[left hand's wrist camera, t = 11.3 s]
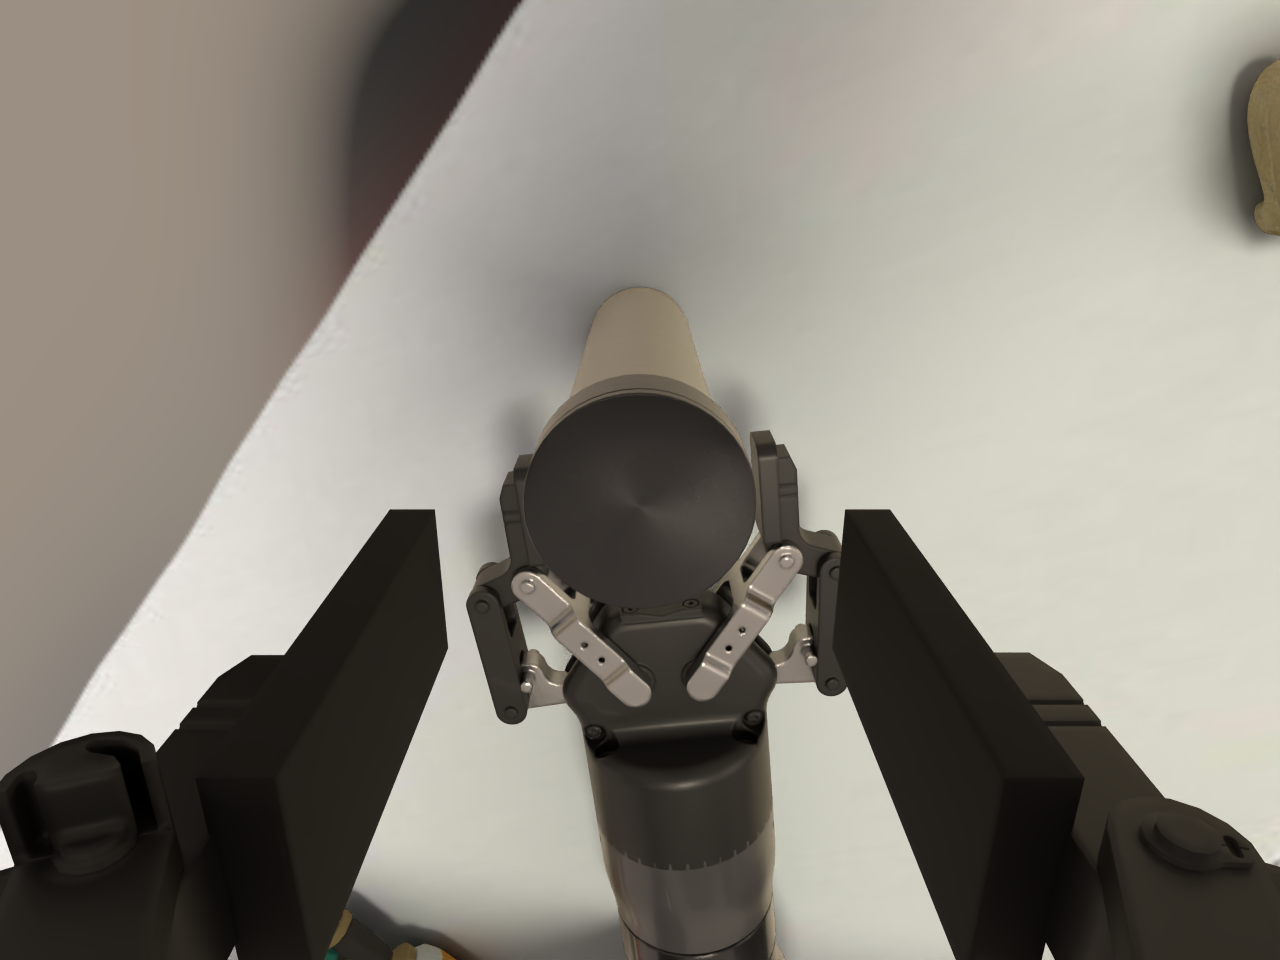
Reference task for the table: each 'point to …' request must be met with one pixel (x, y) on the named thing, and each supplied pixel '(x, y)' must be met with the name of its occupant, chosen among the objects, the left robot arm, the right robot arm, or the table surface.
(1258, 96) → the sculpture
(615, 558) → the lid
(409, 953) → the spray gun
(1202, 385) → the table surface
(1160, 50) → the table surface
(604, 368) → the cylinder
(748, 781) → the right robot arm
